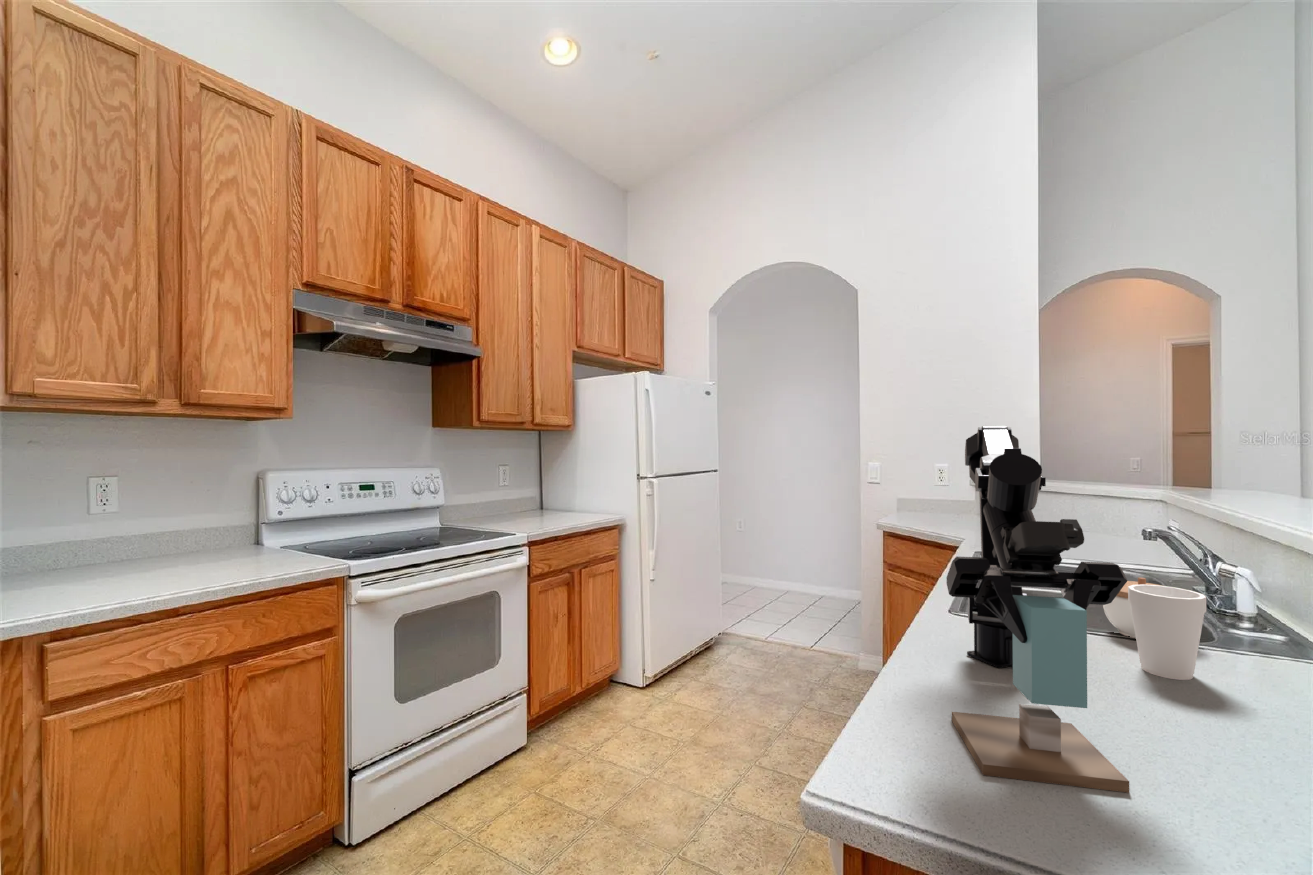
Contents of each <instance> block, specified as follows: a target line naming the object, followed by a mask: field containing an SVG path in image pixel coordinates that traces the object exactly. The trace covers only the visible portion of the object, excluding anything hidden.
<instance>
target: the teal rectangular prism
mask: <svg viewBox="0 0 1313 875" xmlns="http://www.w3.org/2000/svg"><path fill="white" fill-rule="evenodd" d="M1013 598H1014V600H1015V603H1016V606H1017V608H1018V611H1019V613H1020V616H1021V619H1022V621H1023V624H1024V627H1025V631H1026V635H1027V641H1026V643H1021V642H1020V641H1019V640H1018V638H1017V637H1016V636H1015V635H1014V634H1013V666H1012V685H1013V686H1014V687H1015V688H1016V689H1017V690H1018V691H1019V692H1020V693H1021V694H1022V695H1023V696H1024V697H1025V698H1026V699H1027V700H1028V701H1029V702H1030V703H1031V705H1034V704H1035V705H1042V706H1045V705H1046V706H1055V707H1056V706H1057V707H1067V708H1068V707H1069V708H1079V709H1088V629H1087V628H1088V626H1087V625H1088V621H1087V619H1088V611H1087V610H1085V609H1083V608H1081V607H1079V606H1077V605H1076V604H1074V603H1072V602H1070V601H1068V600H1066V599H1065V598H1063V597H1059V596H1058V597H1057V596H1055V597H1054V596H1037V595H1036V596H1035V595H1027V596H1021V595H1013Z"/></svg>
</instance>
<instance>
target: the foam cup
mask: <svg viewBox="0 0 1313 875" xmlns="http://www.w3.org/2000/svg"><path fill="white" fill-rule="evenodd" d="M1160 585H1161V584H1157V585H1145V584H1142V585H1131V586H1128V601H1129V602H1130V605H1131V611H1132V617H1133V623H1134V629H1135V635H1136V646H1137V653H1138V658H1139V663H1140V668H1141V669H1142V670H1143V671H1145V672H1147V674H1151V675H1154V676H1157V677H1161V678H1165V679H1169V680H1170V679H1171V680H1179V681H1188V680H1189V681H1190V680H1192V679H1194V674H1195V670H1196V665H1197V658H1198V653H1199V648H1200V641H1201V640H1200V639H1201V635H1202V629H1203V624H1204V619H1205V613H1207V596H1206V595H1205V594H1203V593H1200V592H1197V591H1194V590H1190V589H1185V588H1179V587H1174V586H1166V585H1163V586H1160Z"/></svg>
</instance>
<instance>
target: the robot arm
mask: <svg viewBox="0 0 1313 875" xmlns="http://www.w3.org/2000/svg"><path fill="white" fill-rule="evenodd" d="M1019 442H1020V441H1019V439H1018V437H1016V436H1014V435H1013V431H1012V427H1010V426H1007V425H982V426H981V427H977V432H976V433H974V434H972V435H971V436H970V437H968V438H966V439H965V443H964V444H965V447H964V465H965V467H966V466H968V469H969V472H968V473H969V476H968V477H969V478H970V480H972V482H973V483H974V487H975V492H979V493H978V496H979V518H980V522H979V523H980V546H981V549H980V550H981V556H980V557H979V556H959V555H958V556H956V557H954V558H953V559H952V561H951V564H950V567H949V569H948V572H947V575H946V587H947V588H946V589H947V591H948V595H949V596H950V597H954V598H955V597H956V598H967V617H968V623H969V624H973V637H974V638H973V639H974V640H973V645H974V647H973V649H974V650H968V651H966V655H967V656H970V657H972V658H974V659H976V660H978V661H980V662H983V663H985V664H988V665H991V666H992V667H995V668H1005V667H1013V634H1014V635H1015V636H1016V637H1017V638H1018V640H1019V641H1020V642H1021V643H1026V641H1027V635H1026V631H1025V627H1024V624H1023V621H1022V619H1021V616H1020V613H1019V611H1018V608H1017V606H1016V603H1015V600H1014V598H1013V595H1021V596H1028V595H1027V592H1023V588H1030V589H1031V588H1034V589H1040V588H1041V589H1053V590H1054V589H1055V590H1057V589H1058V590H1059V591H1060V592H1061V595H1062V596H1061V597H1062V598H1065V599H1066V600H1068V601H1070V602H1072V603H1074V604H1076V605H1077V606H1079V607H1081V608H1083V609H1085V610H1087V609H1088V607H1089V606H1090V605H1099V606H1100V605H1101V606H1103V605H1106V604H1109V603H1111V602H1112V601H1113V600H1114V598H1115V597H1116V596H1117V594H1118V593H1119V592H1120V590H1121V589H1122V588H1123V586H1124V585H1125V584H1126V582H1127V581H1128V579H1127V577H1126V575H1125V574H1126V573H1125V572H1124V570H1123V569H1122V568H1121V566H1120V565H1118V564H1116V563H1114V562H1104V561H1103V562H1102V561H1080V563H1079V564H1078V566H1077V567H1076V569H1075V571H1073V572H1066V571H1065V572H1061V571H1058V570H1055V566H1060V565H1061V562H1062V561H1063V559H1062V556H1061V553H1063V552H1065V551H1070V550H1071V549H1076V548H1079V547H1080V546H1082V545H1083V544H1084V542H1085V535H1084V531H1083V528H1082V527H1081V525H1080V523H1079V521H1078V519H1077V518H1076V519H1072V518H1071V519H1070V518H1061V519H1060V521H1043V520H1042V521H1036V518H1035V515H1034V513H1033V510H1034V508H1036V505H1037V502H1038V496H1039V492H1041V490H1042V488H1043V487H1046V486H1047V485H1046V480H1047V479H1046V477H1043V475H1042V472H1043V468H1042V465H1041V464H1039V462H1038V461H1037V460H1036V459H1035V458H1033V457H1031V456H1030V455H1029V456H1028V455H1026V454H1023V453H1022V449H1021V448H1020V445H1019V444H1020V443H1019Z"/></svg>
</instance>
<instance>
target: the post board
mask: <svg viewBox="0 0 1313 875" xmlns="http://www.w3.org/2000/svg"><path fill="white" fill-rule="evenodd" d="M1018 706H1019V712H1018V713H1019V715H1018V716H1019V717H1012V716H1010V717H1009V716H1002V715H1001V716H1000V715H992V714H991V715H989V714H981V713H969V712H961V711H951V722H952V723H953V725H954V727H955V729H956V731H957V732H958V734H959V736H960V737H961V739H962V741H963V743H964V744H965V746H966V748H967V750H968V751H969V754H970V755H971V756H972V758H973V760H974V762H975V763H976V765H977V767H978V769H979V770H980V772H981V774H982V776H987V777H994V778H995V777H997V778H1004V779H1013V780H1020V781H1021V780H1022V781H1030V782H1036V783H1043V784H1044V783H1047V784H1053V785H1055V784H1056V785H1062V786H1070V787H1078V788H1079V787H1080V788H1087V789H1095V790H1104V791H1112V792H1118V793H1119V792H1121V793H1128V794H1129V793H1130V780H1128V779H1127V777H1125V775H1123V773H1121V771H1120V770H1119V769H1117V767H1116V766H1115V765H1114V764H1113V763H1112V762H1110V760H1108V758H1107V757H1106V756H1104V755H1103V753H1102V752H1101V751H1099V749H1098V748H1096V746H1094V744H1093V743H1092V742H1091V741H1089V739H1088V738H1087V737H1086V736H1085V735H1083V733H1082V732H1081V731H1079V729H1078V728H1077V727H1075V725H1074V724H1073V723H1070V722H1062V718H1061V717H1059V715H1058V714H1056V713H1055V712H1054V710H1052V708H1051V707H1049V706H1047V705H1046V706H1045V705H1036V704H1035V705H1034V704H1025V703H1019V704H1018Z"/></svg>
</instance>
